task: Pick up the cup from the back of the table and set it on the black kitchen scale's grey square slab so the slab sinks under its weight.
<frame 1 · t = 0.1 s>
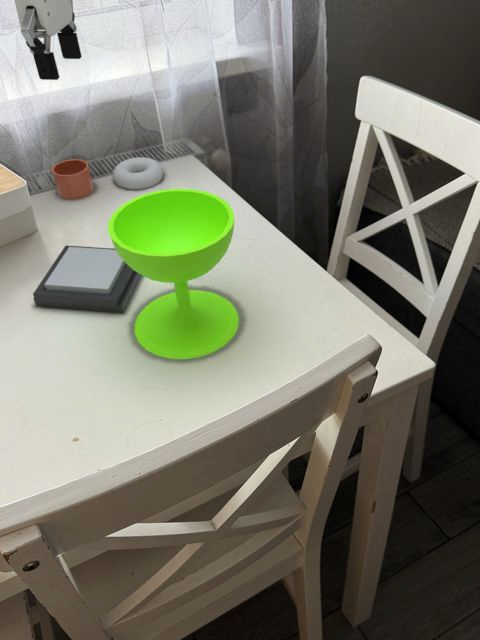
hand: (61, 68, 99), 24 cm above the table, tool pointing down, fingers open, 9 cm apart
scale: (94, 288, 95), on the table
donut: (139, 182, 120), on the table
grey square slab: (88, 270, 93), point 4 cm above the table, slide at -0.2 cm
cup: (77, 193, 117), on the table
wineglass: (187, 327, 88), on the table
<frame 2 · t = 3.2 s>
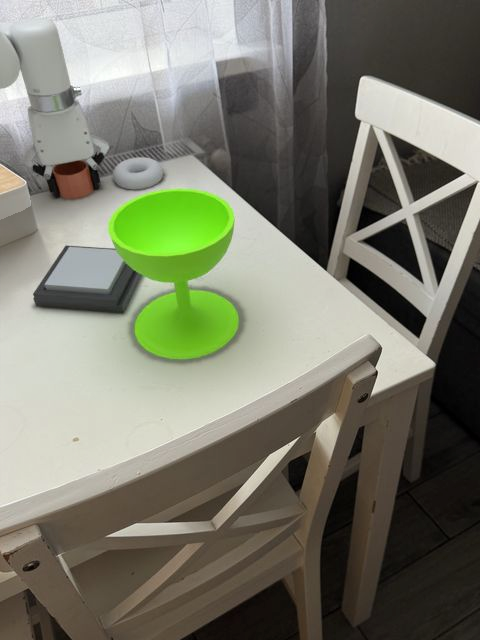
hand: (76, 189, 117), 1 cm above the table, tool pointing down, fingers closed on cup, 7 cm apart
cup: (77, 193, 117), on the table, touching gripper
everything else where it was.
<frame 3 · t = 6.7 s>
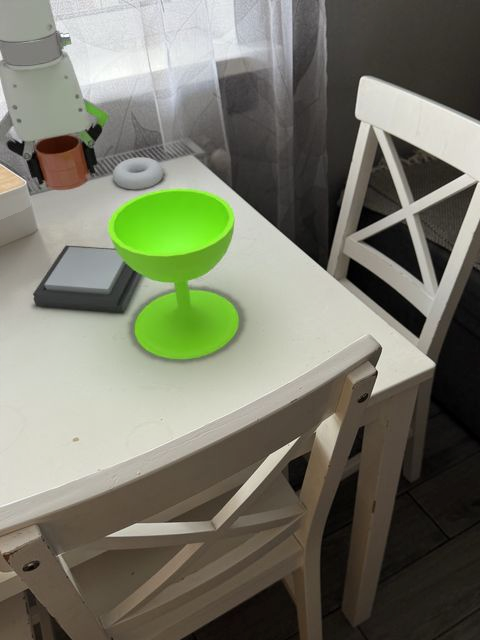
hand: (65, 174, 89), 16 cm above the table, tool pointing down, fingers closed on cup, 7 cm apart
cup: (67, 179, 90), point 15 cm above the table, touching gripper
everything else where it was.
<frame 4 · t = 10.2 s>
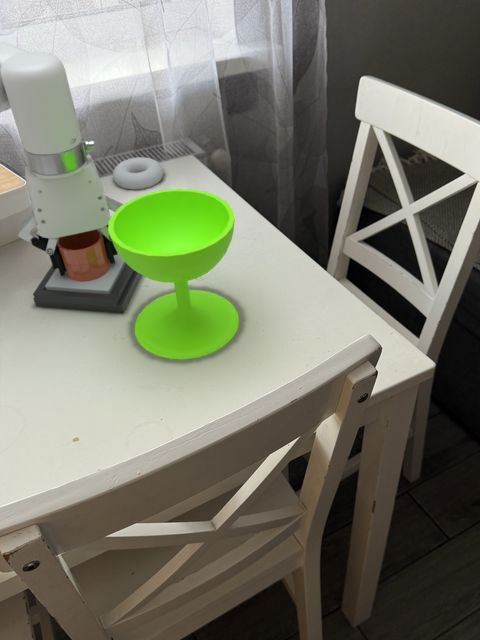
hand: (86, 264, 92), 5 cm above the table, tool pointing down, fingers closed on cup, 7 cm apart
grey square slab: (89, 272, 93), point 3 cm above the table, slide at -0.5 cm, touching cup
cup: (87, 268, 92), point 4 cm above the table, touching gripper, grey square slab
everything else where it was.
when the fingers open (5 cm above the table, at t = 10.4 s): cup stays where it is, resting on grey square slab.
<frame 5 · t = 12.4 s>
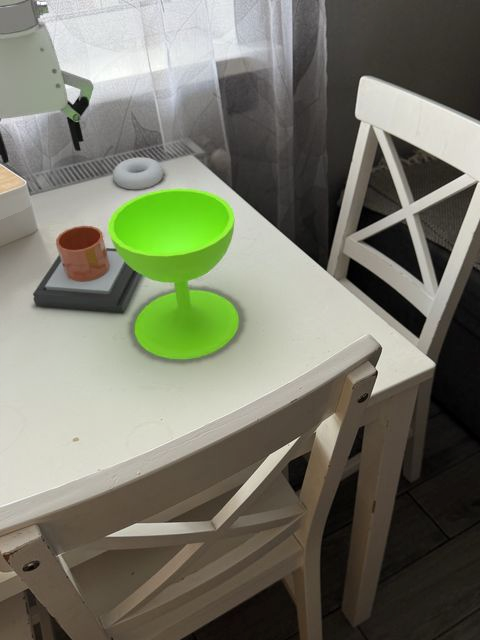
hand: (41, 152, 82), 21 cm above the table, tool pointing down, fingers open, 9 cm apart
cup: (87, 268, 92), point 4 cm above the table, touching grey square slab
everything else where it was.
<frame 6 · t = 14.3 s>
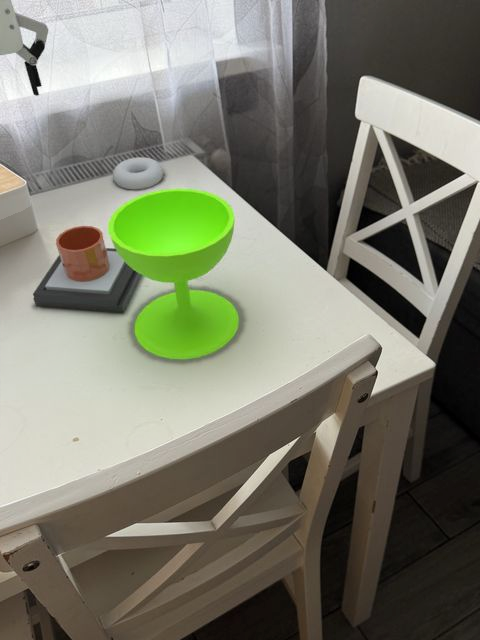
hand: (1, 97, 84), 26 cm above the table, tool pointing down, fingers open, 9 cm apart
nothing on the table moved.
at the end: cup inside the target area on the scale (0.1 cm from its centre), point 4.0 cm above the scale's base; cup tilted 0°; grey square slab slide at -0.6 cm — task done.
